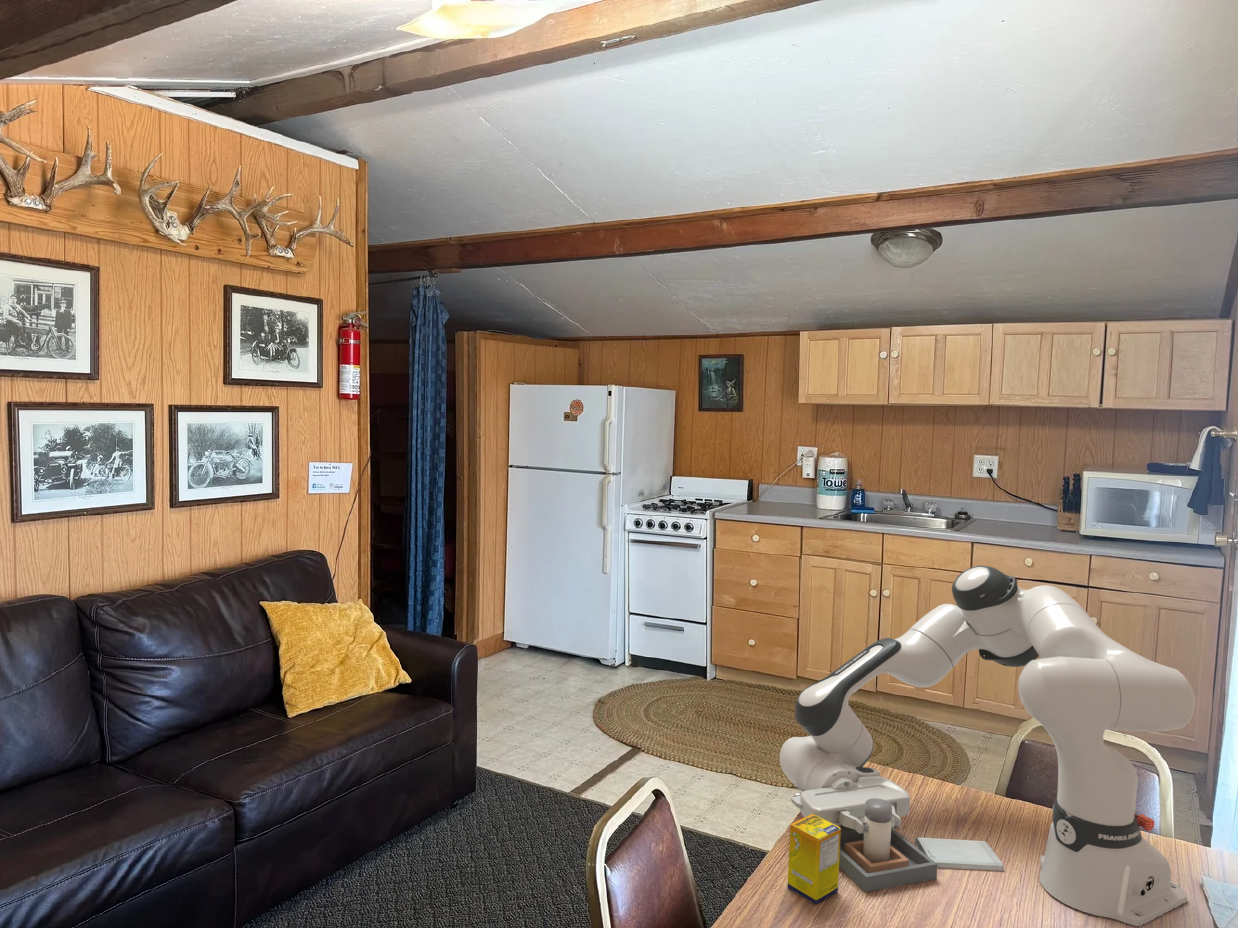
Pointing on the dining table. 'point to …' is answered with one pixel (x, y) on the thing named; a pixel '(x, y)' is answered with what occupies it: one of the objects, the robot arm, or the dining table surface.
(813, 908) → the dining table surface
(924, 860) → the walled box
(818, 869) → the supplement box
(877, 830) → the white bottle
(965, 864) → the hard drive
